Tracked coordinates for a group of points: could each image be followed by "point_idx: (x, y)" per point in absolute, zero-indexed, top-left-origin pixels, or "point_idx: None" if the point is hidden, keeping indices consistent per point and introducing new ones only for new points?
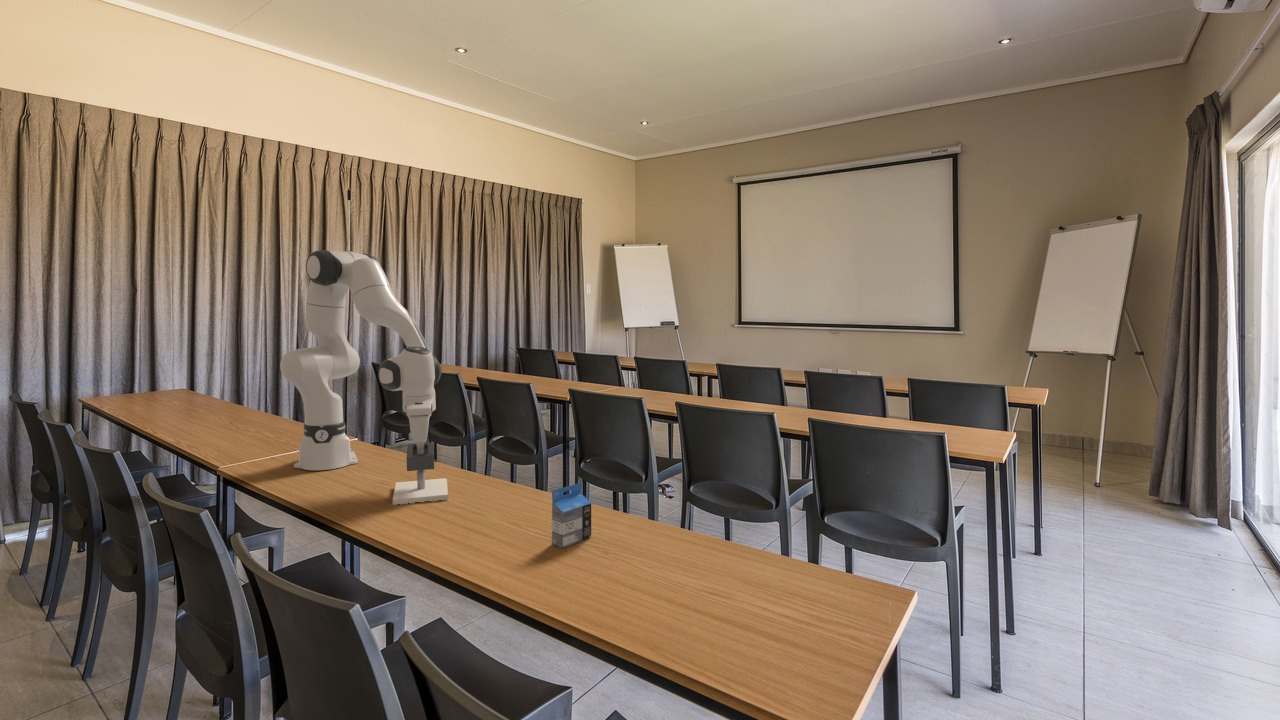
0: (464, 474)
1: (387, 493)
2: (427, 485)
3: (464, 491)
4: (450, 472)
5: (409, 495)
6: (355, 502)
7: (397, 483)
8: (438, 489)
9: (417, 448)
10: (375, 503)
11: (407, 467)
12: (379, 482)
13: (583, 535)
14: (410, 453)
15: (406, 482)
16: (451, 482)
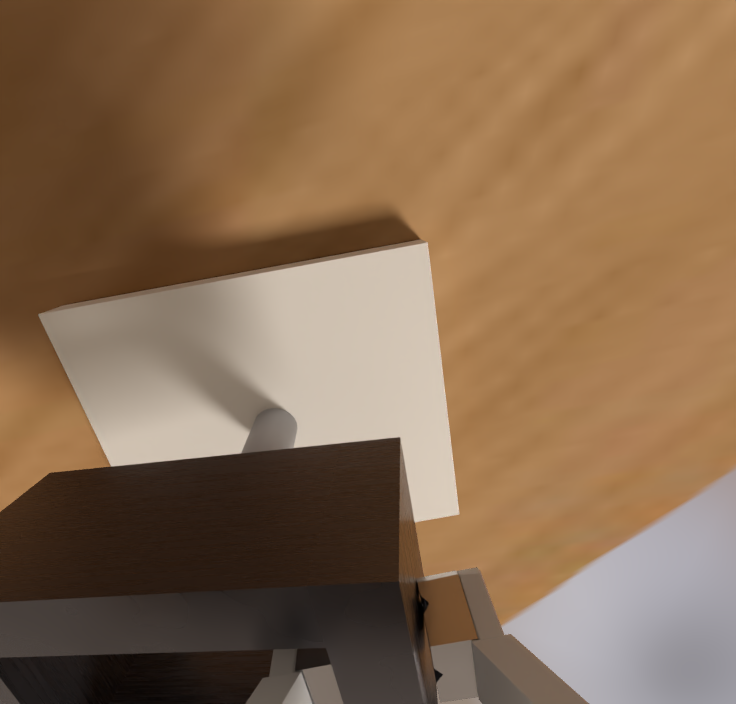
0: (587, 543)
1: (297, 211)
2: None
3: None
4: (651, 477)
5: (132, 393)
6: (92, 16)
7: (398, 259)
8: None
9: (273, 668)
10: (85, 184)
11: (16, 505)
12: (574, 77)
13: None
14: (23, 637)
15: (411, 315)
16: (460, 511)
